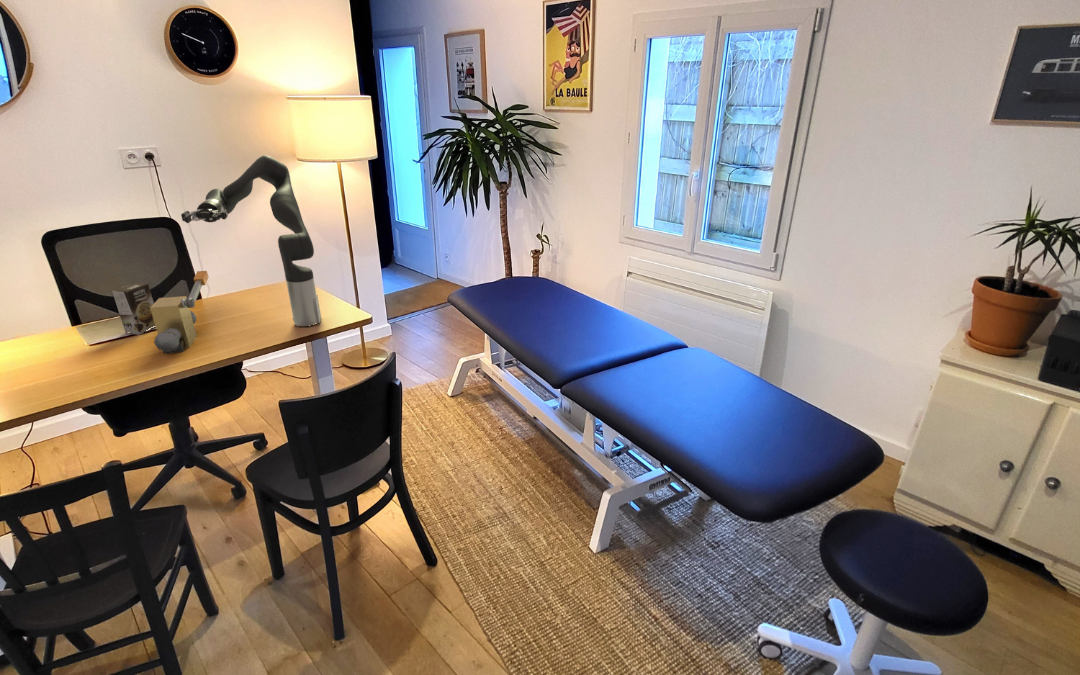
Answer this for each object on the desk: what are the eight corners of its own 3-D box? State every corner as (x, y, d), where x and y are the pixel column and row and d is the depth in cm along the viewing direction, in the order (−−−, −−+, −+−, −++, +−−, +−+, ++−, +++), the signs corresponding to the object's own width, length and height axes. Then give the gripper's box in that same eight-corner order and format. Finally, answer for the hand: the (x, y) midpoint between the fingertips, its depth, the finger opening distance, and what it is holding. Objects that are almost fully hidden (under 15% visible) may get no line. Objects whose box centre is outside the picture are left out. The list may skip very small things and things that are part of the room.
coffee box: (140, 335, 194) (126, 291, 187) (124, 333, 195) (110, 290, 188) (161, 325, 202) (148, 283, 195) (146, 323, 203) (133, 281, 196)
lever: (195, 309, 184) (208, 277, 201) (192, 300, 182) (206, 270, 199) (185, 309, 184) (199, 278, 200) (182, 301, 182) (197, 270, 199)
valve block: (204, 329, 199) (193, 288, 192) (187, 354, 180) (174, 310, 174) (176, 331, 197) (164, 290, 190) (156, 357, 178) (142, 313, 172)
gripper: (187, 201, 209) (174, 210, 194) (229, 199, 212) (219, 208, 198) (192, 220, 212) (180, 231, 198) (233, 219, 215) (224, 228, 201)
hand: (200, 219), depth 198 cm, fingers open, 8 cm apart
